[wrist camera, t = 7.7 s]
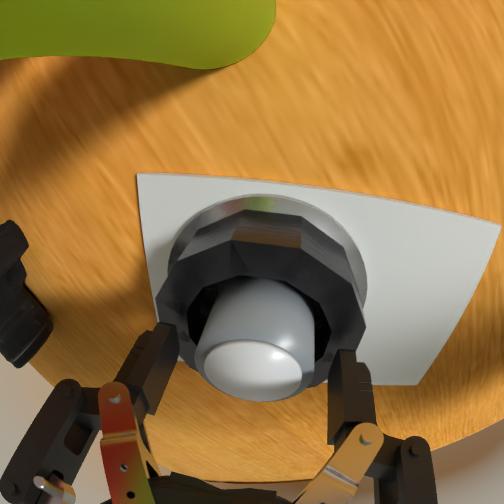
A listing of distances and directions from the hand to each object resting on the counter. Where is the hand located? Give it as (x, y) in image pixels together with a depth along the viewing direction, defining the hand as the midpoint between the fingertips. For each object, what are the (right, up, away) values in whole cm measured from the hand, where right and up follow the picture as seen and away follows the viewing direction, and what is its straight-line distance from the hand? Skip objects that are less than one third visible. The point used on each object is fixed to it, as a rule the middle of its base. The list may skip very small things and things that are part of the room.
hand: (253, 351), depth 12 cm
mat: (+4, +1, +4) cm, 6 cm away
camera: (-23, +1, +9) cm, 24 cm away
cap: (+1, +2, +3) cm, 4 cm away
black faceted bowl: (+1, +2, +4) cm, 4 cm away
